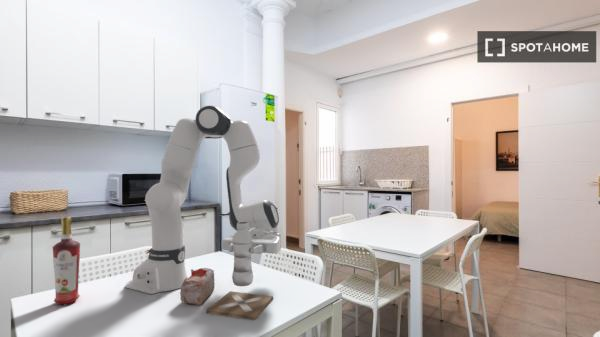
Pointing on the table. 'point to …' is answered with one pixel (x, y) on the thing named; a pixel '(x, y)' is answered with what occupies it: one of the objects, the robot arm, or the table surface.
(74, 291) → the liquor
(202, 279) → the food item
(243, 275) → the plastic bottle
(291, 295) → the table surface
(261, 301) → the brown board with cross
